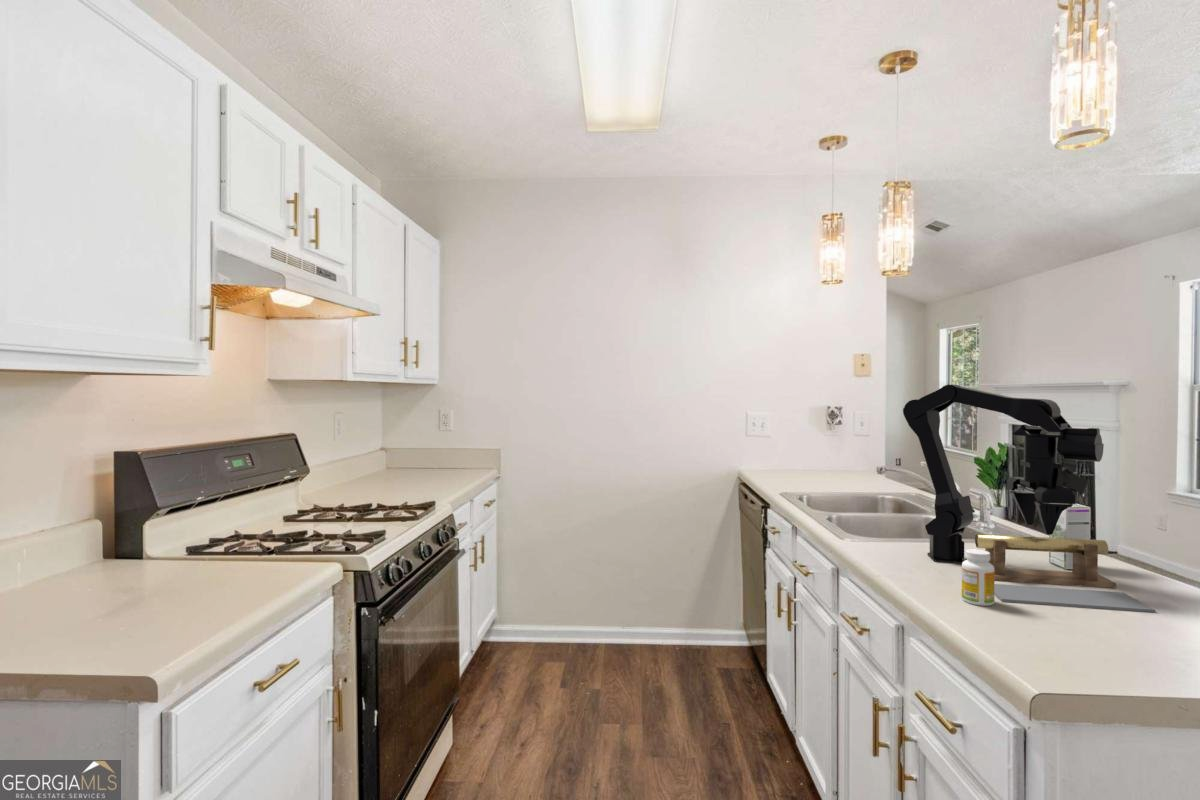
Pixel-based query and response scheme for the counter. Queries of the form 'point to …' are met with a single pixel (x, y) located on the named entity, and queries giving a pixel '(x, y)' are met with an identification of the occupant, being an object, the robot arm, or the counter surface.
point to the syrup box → (1071, 532)
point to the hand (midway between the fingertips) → (1039, 529)
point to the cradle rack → (1081, 575)
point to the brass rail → (1040, 543)
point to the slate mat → (1069, 597)
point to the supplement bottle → (978, 578)
